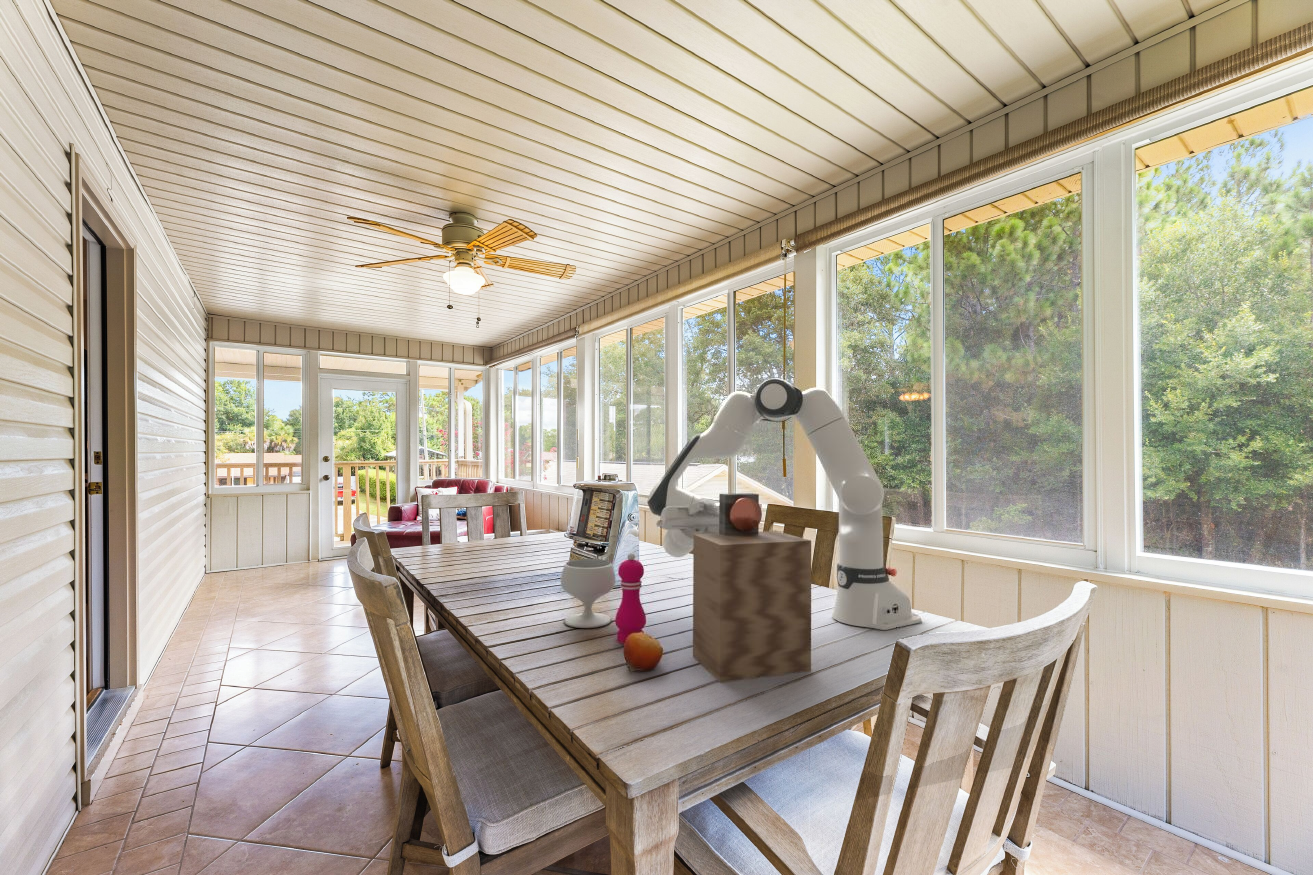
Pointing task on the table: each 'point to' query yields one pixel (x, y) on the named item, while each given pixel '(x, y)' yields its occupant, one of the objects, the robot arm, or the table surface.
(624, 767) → the table surface
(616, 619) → the pepper mill
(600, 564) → the chalice
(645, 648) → the fruit
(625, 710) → the table surface
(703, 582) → the walnut post
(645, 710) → the table surface
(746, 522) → the steel pin
